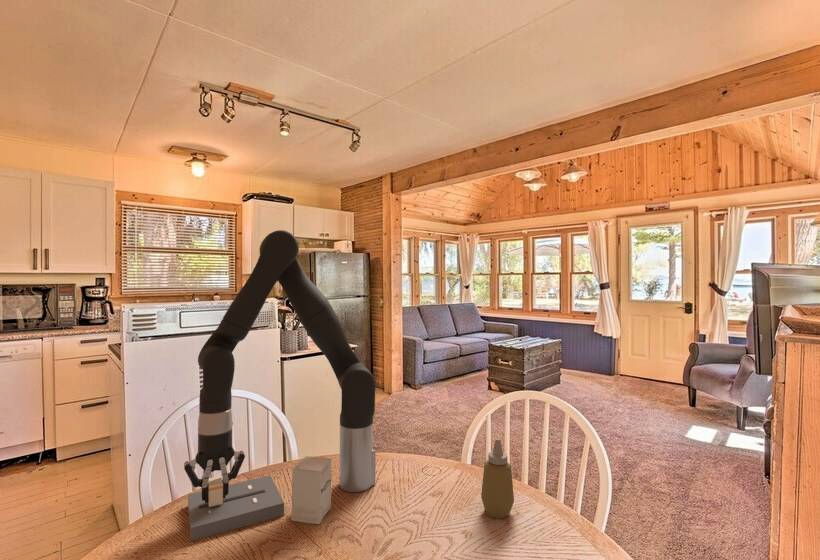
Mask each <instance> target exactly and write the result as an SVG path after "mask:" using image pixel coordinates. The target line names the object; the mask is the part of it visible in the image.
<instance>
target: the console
mask: <svg viewBox="0 0 820 560" xmlns="http://www.w3.org/2000/svg"><path fill="white" fill-rule="evenodd" d="M187 508H188V510H187V511H188V521H189V522H188V523H189V535H190V537H189V538H190V542H195V541H198V540H201V539H205V538H208V537H211V536H215V535H219V534H224V533H227V532H229V531H232V530H237V529H241V528H245V527H247V526H251V525H254V524H255V525H256V524H257V523H261V522H264V521H269V520H272V519H275V518H279V517H281V516H285V502H284V500H283V498H282V495H281V494H280V492H279V490H278V488H277V485H276V484H275V482H274V480H273V478H272V476H271V475H266V476H261V477H257V478H251V479H247V480H244V481H240V482H235V483H231V484H229V489H228V495H226V497H225V498H224V499H223V504H219V505H216V506H212V507H209V505H208V502H207V503H205V501H203V500H202V490H200V491H196V492H191V493H189V494H187Z"/></svg>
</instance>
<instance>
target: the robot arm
mask: <svg viewBox="0 0 820 560" xmlns="http://www.w3.org/2000/svg"><path fill="white" fill-rule="evenodd" d="M299 249H300V247H299V242H298V239H297V238H296V236H295V235H294V234H292V233H291V232H289V231H287V230H282V229H281V230H280V229H279V230H275V231H272V232H270V233H268V234H267V235H266V236H265V237H264V238H263V240H262V241H261V243H260V245H259V257H258V259H257V262H256V264H255V266H254V268H253V270H252V272H251V273H250V276H249V277H248V279H247V280H246V282H245V283H244V285H243V286H242V287H241V288H240V290H239V292H238V293H237V294H236V296H235V298H234V299H233V300H232V302H231V303H230V305H229V307H228V309H227V310H226V312H225V314H224V316H223V317H222V319H221V321H220V323H219V325H218V327H216V329H215V330H214V331H213V333H212V334H211V335H210V336H209V337H208V339H207V340H206V342H205V343H204V344H203V346H202V348H201V350H200V351H199V353H198V356H197V363H198V366H199V367H200V369H201V370H202V388H201V389H200V391H199V403H198V404H199V406H198V408H199V411H198V413H199V414H198V421H197V453H196V455H195V458H194V459H191V460H190V461H185V462H184V463H183V467H184V469H183V470H184V471H185V473H186V475H187V476H188V479H189V481H190V482H191V484H192V486H193V487H194V488H201V491H202V500H203V501H205V503H207V502H209V490H208V481H209V478H211V473H213V472H215V471H218V472H221V477H222V481H223V499H224V498H225V497H226V495H228V489H229V485H230V484H229V482H230V481H231V480H234V479H236V478H237V476H238V475H239V472H240V470H241V468H242V465H243V462H244V460H245V458H246V455H245V453H244V451H243V450H240V451H236V450H235V448H234V447H233V426H234V421H233V411H232V400H233V399H232V386H233V383H234V382H233V381H234V375H235V370H236V369H235V367H236V365H235V364H236V363H235V357H234V355H233V353H234V352H233V351H234V350H235V349H236V348H237V345H238V344H239V343H240V342H242V341H243V340H245V338H246V337H247V336H248V334H249V332H250V331H251V330H252V327H253V325H254V324H255V322H256V320H257V319H258V316H259V314H260V313H261V311H262V309H263V307H264V304H265V303H266V301H267V299H268V298H269V295H270V293H271V292H272V290H273V288H274V286H275V284H277V282H278V283H279V285H280V287H282V289H283V291H284V293H285V294H286V297H287V299H288V301H289V303H290V305H291V306H292V309H293V310H294V313H295V314H296V316H297V318H298V320H299V322H300V323H301V325H302V326H303V329H304V330H305V332H306V334H308V336H309V338H310V340H312V342H313V343H314V345H316V347H317V348H318V349H319V351H321V353H322V354H323V355H324V357H325V358H326V359H327V361H328V363H329V364H330V367H331V369H332V371H333V374H334V375H335V377H336V379H337V382H338V385H339V387H340V389H341V403H340V404H341V409H340V413H339V414H340V415H339V477H338V479H339V481H338V482H339V483H338V484H339V485H338V486H339V487H340V489H341V490H343V491H345V492H349V493H359V492H364V491H367V490H369V489H370V488H371V487H372V486H374V485H376V467H377V466H376V464H377V463H376V460H377V459H376V453H377V452H376V449H374V448H373V447H374V437H373V436H374V415H375V410H376V381H375V380H376V379H375V377H374V374H373V373H372V372H371V371H370V370H369V369H368V368H367V367H366V366H365V364H363V362H362V361H361V360H360V358H359V357H358V355H357V354H356V353H355V351H354V350H353V348H352V346H351V345H350V343H349V341H348V339H347V336H346V333H345V331H344V328H343V326H342V323H341V321H340V319H339V317H338V315H337V313H336V312H335V310H334V308H333V306H332V305H331V303H330V300H329V299H328V298H327V297H326V296H325V295H324V293H323V292H322V291H321V290H320V289H319V288H318V286H316V285H315V284H314V283H313V281H311V280H310V278H309V276H308V275H307V274H306V273H305V271H304V269H303V268H302V266H301V263H300V261H299V259H298V257H297V256H298V255H299ZM232 459H234V462H233V465H232V467H231V470H230V472H228V469H227V466H228V465H229V463H230V461H231V460H232ZM196 465H199V466H200V468H201V469H202V470H203V471H202V476H201V478H199V477H198V475H197V473H196V472H195V470H196Z"/></svg>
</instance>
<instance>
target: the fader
mask: <svg viewBox="0 0 820 560" xmlns="http://www.w3.org/2000/svg"><path fill="white" fill-rule="evenodd" d="M222 480H223V478H222V475H219V476H215V477H210V478H209V481H208V490H209V502H208V505H209V507H212V506H216V505H219V504H223V481H222Z"/></svg>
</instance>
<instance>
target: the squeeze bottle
mask: <svg viewBox="0 0 820 560" xmlns="http://www.w3.org/2000/svg"><path fill="white" fill-rule="evenodd" d="M487 456H488V457H487V459H488V460H486V461H485V462H484V465H483V466H484V467H483V475H482V483H481V484H482V486H481V495H480V496H481V497H480V498H481V501H482V504H483V508H484V511H485V513H486V515H488V516H489V517H492V518H495V519H505V518H507V517H509V516H510V514H511V511H512V508H513V506H514V503H515V495H514V485H513V473H512V466H511V465H512V464H510V463H509V462H508V454H507V453H506V452H504V451H503V447H502V442H501V439H499V438H496V439H495V440H494V445H493V449H492V451H489V452H488V455H487Z"/></svg>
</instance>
